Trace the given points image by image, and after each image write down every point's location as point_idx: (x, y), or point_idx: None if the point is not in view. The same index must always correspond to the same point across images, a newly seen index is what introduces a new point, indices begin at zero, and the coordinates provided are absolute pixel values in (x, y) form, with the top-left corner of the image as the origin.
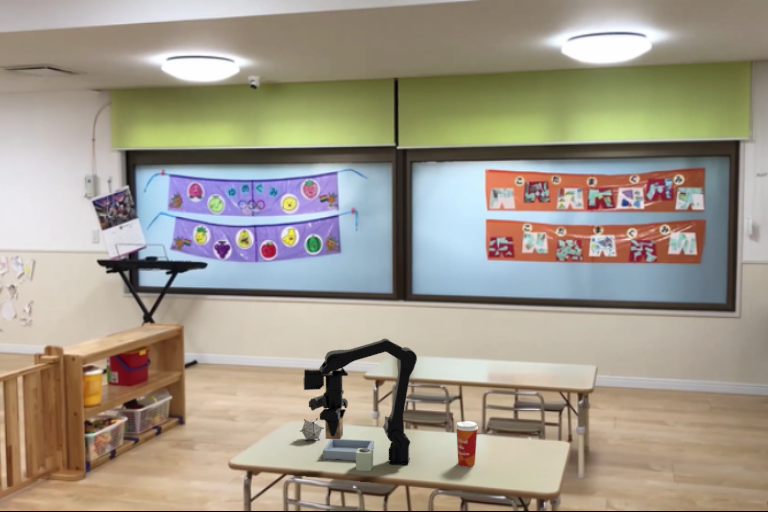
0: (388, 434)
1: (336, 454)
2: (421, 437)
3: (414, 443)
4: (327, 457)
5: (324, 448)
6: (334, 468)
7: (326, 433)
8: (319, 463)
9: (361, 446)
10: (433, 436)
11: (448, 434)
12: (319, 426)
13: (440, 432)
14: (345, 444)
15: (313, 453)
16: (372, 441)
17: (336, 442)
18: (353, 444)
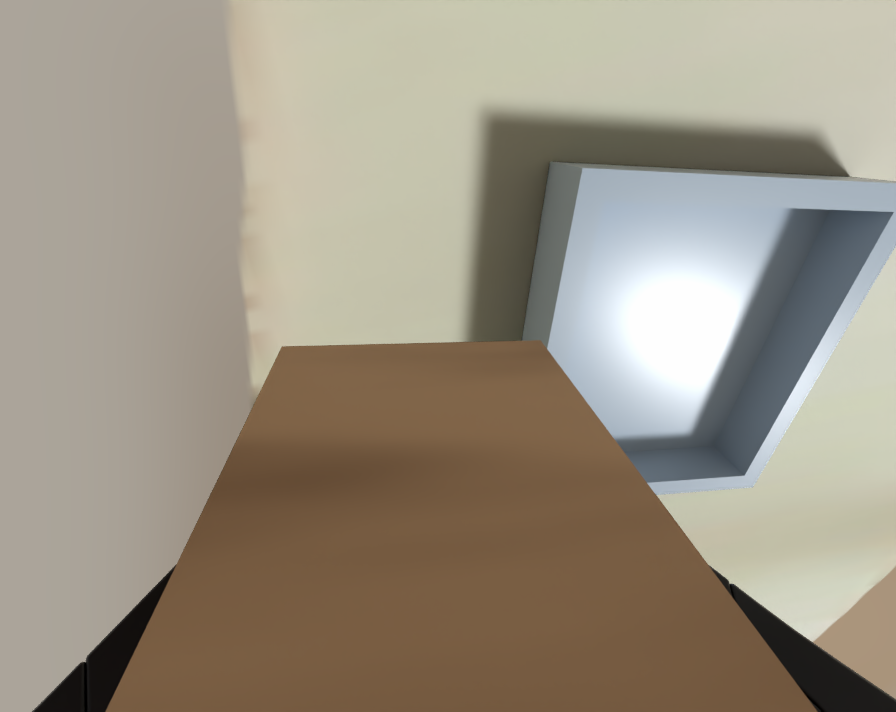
0: None
1: (545, 295)
2: (810, 575)
3: (741, 571)
4: (548, 208)
5: (645, 174)
6: (328, 305)
7: (260, 423)
8: (429, 152)
9: (740, 402)
10: (805, 601)
11: (808, 629)
12: None
13: (842, 609)
14: (798, 306)
15: (718, 24)
16: (736, 483)
17: (850, 236)
18: (773, 361)
